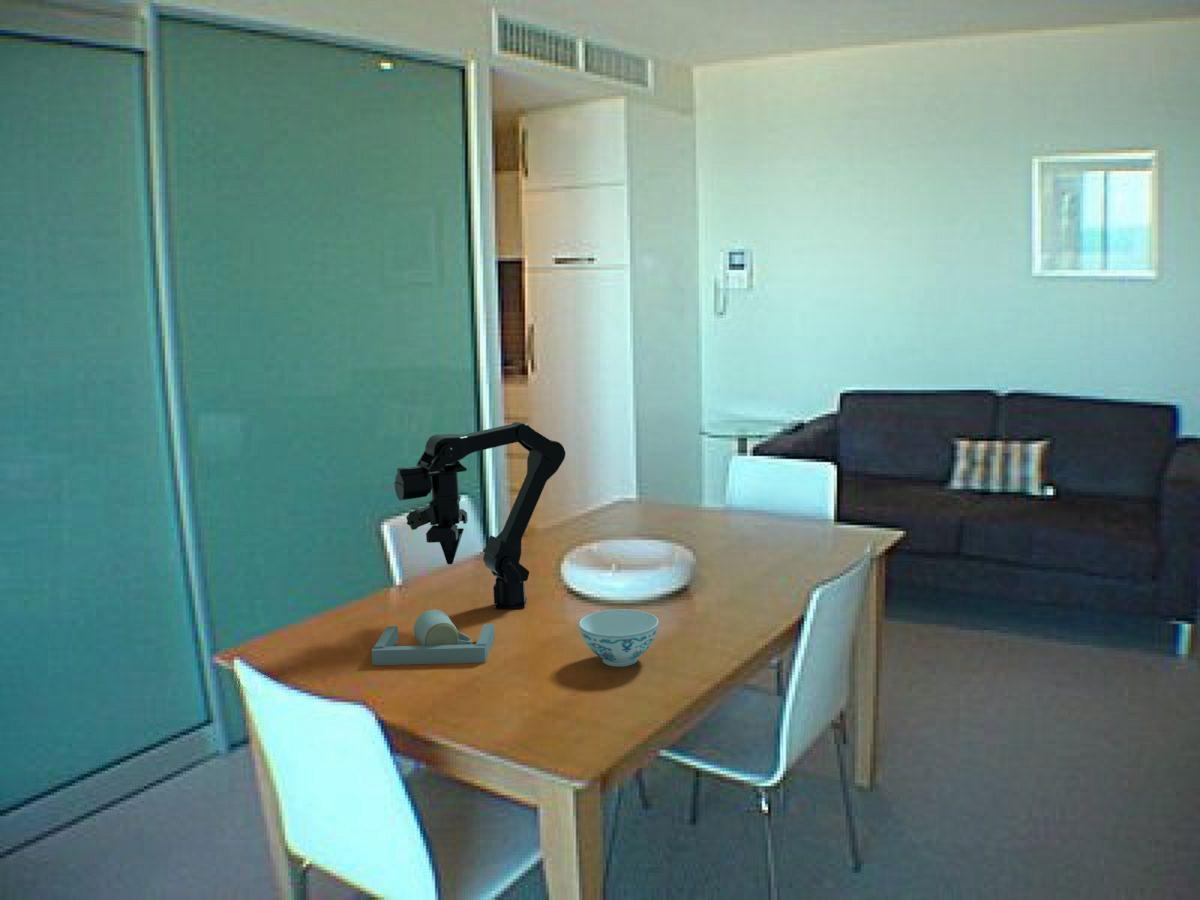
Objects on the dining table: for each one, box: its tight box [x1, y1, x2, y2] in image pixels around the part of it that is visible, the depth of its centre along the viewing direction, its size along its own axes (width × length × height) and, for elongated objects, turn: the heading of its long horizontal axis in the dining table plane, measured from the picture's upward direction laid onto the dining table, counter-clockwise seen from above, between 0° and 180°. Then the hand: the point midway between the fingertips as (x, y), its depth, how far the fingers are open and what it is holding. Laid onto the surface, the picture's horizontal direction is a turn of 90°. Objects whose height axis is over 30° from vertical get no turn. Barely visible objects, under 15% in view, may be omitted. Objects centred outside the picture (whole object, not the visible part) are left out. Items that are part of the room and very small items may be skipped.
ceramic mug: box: [413, 609, 473, 646], centre depth 216 cm, size 11×8×8 cm
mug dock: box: [371, 623, 496, 666], centre depth 216 cm, size 22×14×3 cm, turn 88°
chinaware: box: [578, 608, 659, 667], centre depth 207 cm, size 15×15×8 cm
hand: (450, 563), depth 235 cm, fingers closed
